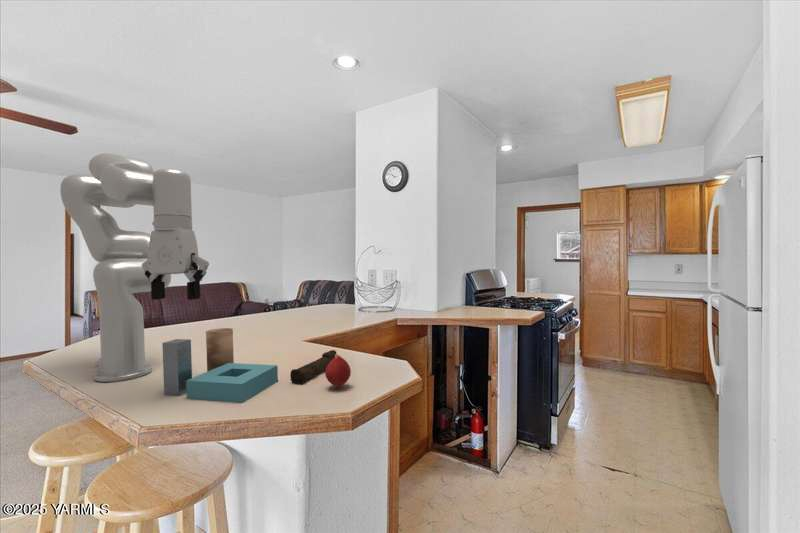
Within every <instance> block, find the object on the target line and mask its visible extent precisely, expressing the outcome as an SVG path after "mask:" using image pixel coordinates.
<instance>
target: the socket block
mask: <svg viewBox="0 0 800 533" xmlns="http://www.w3.org/2000/svg"><path fill="white" fill-rule="evenodd" d="M278 368H279V367H278V365H277V364H276V365H275V364H257V363H240V362H239V363H238V362H237V363H235V362H234V363H227V364H225V365H222V366H220V367H218V368H215V369H213V370H210V371H208V372H207V371H206V372H203V373H201V374H199V375H196V376H194V377H192V378H191V379H189V380H186V390H187V393H186V399H188V400H204V401H218V402H231V403H244V402H246V401H248V400H249V399H251V398H252V397H254V396H256V395H258V394H259V393H260V392H262V391H264V390H265V389H267V388H269V387H270V386H272V385H274V384H276V383H277V382H278V381H279V377H278V376H279V375H278V374H279V372H278Z"/></svg>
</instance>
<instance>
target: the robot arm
mask: <svg viewBox="0 0 800 533" xmlns="http://www.w3.org/2000/svg"><path fill="white" fill-rule="evenodd" d="M88 170H89V172H90V174H85V173H84V174H83V173H82V174H80V173H78V174H77V173H76V174H71V175H68V176H66V177H64V178H63V179H62V181H61V183H60V197H61V201H62V205H63V206H64V207H63V208H64V209H65V210H66V212H67V214H68V215H69V216H70V218H71V219H72V221H74V223H75V224H76V225H77V227H79V230H80V232H81V234H82V238H83V239H84V241H85V244H86V247H87V249H88V252H89V254H90V256H91V257H92V259H93V260H95V261H96V262H98V263H96V265H94V268H93V271H92V277H93V283H94V286H95V290H96V294H97V300H98V311H99V335H100V339H99V341H100V358H99V359H98V361H95V362H93V364H92V365H93V367H94V368H98V372H96V373H95V374H94V375H93V378H94V379H93V380H94V381H96V382H101V383H108V382H110V383H111V382H119V381H125V380H131V379H135V378H136V379H137V378H140V377H142V376H146V375H147V374H148V375H149V373H151V372H152V371H153V365H151V364H146V351H145V350H146V348H145V347H146V346H145V323H144V321H145V319H144V315H145V314H144V309H143V306H142V304H141V303H140V301H139V300H137V298H136V297H135V296H134V295H133V294H135V293H136V294H137V293H147V292H151V294H150V296H151V300H153V301H154V300H163V299H165V298H166V288H168V287H169V285H170V284H171V280H172V275H180V274H184V275H185V277H186V278H187V279H188V281H186V295H187V296H186V297H187V300H188V301H191V300H198V299H201V285H200V284H201V282H202V281H203V278H204V277H205V275H206V274H207V270H208V267H209V265H210V262H209V261H207V260H206V259H204V258H202V257H200V256H199V248H198V243H197V242H198V241H197V238H196V237H197V236H196V233H195V231H194V230H193V218H192V217H193V214H192V213H193V212H192V211H193V209H192V206H193V205H192V183H191V182H192V181H191V180H192V179H191V177H190V175H189V174H188V173H187V172H185V171H183V170H179V169H173V168H172V169H170V168H163V169H157V170H155V171H154V169H153V167H152V166H151V165H150V164H149V163H148V162H147V161H145V160H144V159H140V158H134V157H128V156H124V155H120V154H119V155H118V154H115V153H98V154H97V155H95V156H92V158H91V159H90V160H89V162H88ZM135 205H139V206H151V207H153V221H152V226H153V230H152V231H151V232H150V233H148V232H145V231H140V230H139V231H135V230H124V229H121V228H120V226H119V225H118V223H117V220H116V219H115V217H113V215H111V214H110V213H109V212H107V210H105V209H104V208H102V207H103V206H104V207H110V208H111V207H114V208H122V209H124V208H132V207H134V206H135ZM100 206H101V207H100Z"/></svg>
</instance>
